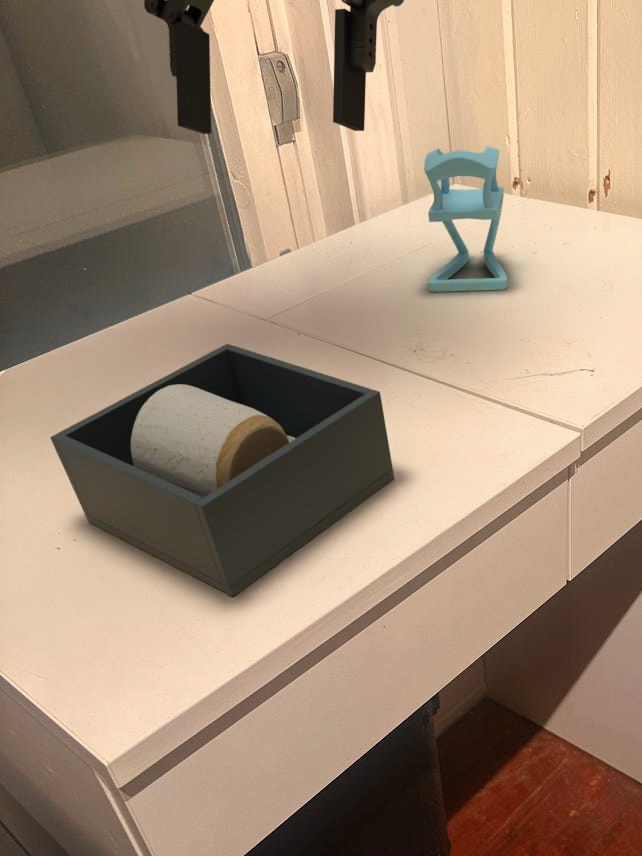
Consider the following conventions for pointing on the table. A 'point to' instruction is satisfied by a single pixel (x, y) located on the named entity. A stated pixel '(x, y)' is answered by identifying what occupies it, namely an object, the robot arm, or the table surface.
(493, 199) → the chair
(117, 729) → the table surface
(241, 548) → the tub
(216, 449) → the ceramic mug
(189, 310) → the table surface
